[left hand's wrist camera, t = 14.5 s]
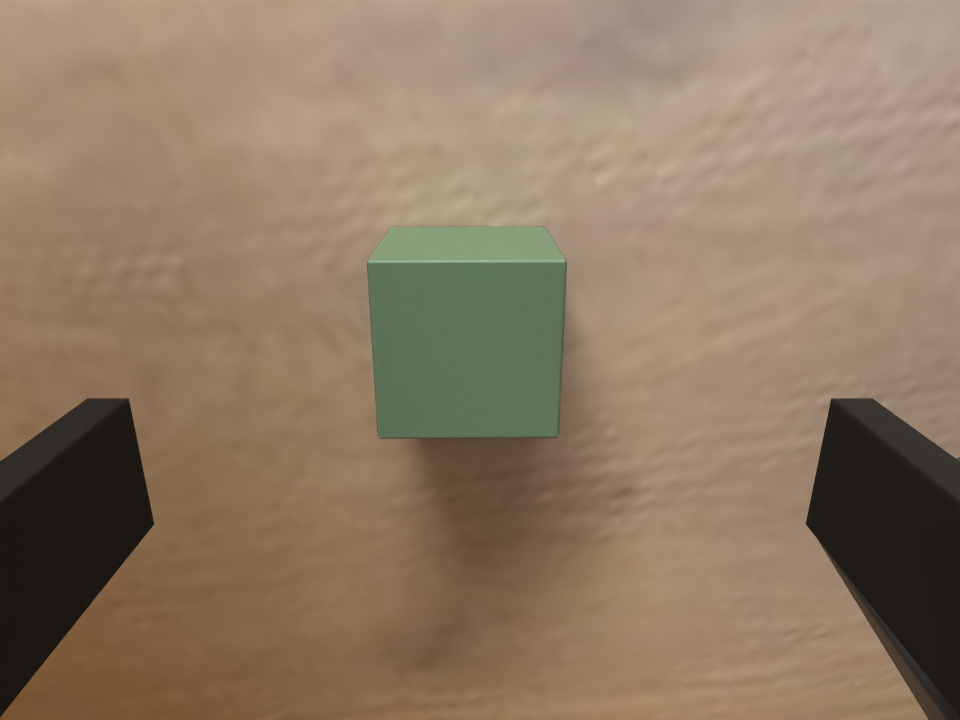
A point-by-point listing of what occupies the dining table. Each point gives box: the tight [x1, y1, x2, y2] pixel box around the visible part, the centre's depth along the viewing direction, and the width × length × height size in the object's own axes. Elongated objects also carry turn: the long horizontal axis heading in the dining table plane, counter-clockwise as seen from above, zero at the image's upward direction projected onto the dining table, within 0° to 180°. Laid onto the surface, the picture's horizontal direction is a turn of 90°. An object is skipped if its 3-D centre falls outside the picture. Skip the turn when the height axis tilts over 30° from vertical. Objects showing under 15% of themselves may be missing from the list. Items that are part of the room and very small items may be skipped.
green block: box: [367, 227, 567, 439], centre depth 20 cm, size 5×5×5 cm
